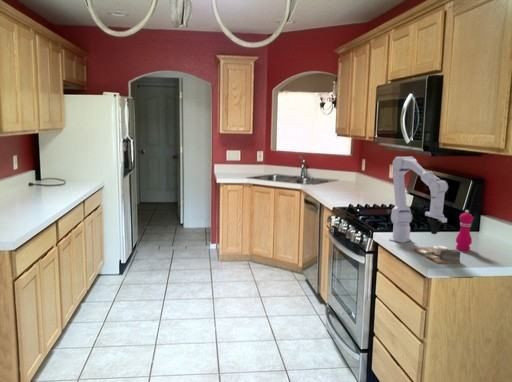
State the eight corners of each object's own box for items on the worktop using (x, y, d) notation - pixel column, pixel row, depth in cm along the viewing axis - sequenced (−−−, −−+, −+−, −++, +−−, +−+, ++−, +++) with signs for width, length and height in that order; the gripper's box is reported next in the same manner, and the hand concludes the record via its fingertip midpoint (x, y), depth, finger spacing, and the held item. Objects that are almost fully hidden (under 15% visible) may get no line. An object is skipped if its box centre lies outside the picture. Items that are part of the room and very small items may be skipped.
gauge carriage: (424, 252, 210) (424, 246, 209) (442, 251, 212) (443, 245, 211) (428, 255, 206) (429, 249, 205) (447, 254, 208) (448, 248, 207)
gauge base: (411, 249, 219) (412, 239, 218) (432, 248, 221) (433, 239, 220) (437, 263, 198) (438, 252, 198) (460, 262, 201) (461, 251, 200)
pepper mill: (465, 252, 217) (470, 212, 213) (451, 248, 223) (456, 209, 219) (473, 250, 221) (478, 210, 218) (459, 246, 227) (464, 207, 223)
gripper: (454, 209, 205) (450, 237, 207) (435, 202, 219) (432, 229, 221) (440, 209, 203) (437, 238, 206) (422, 202, 217) (419, 230, 220)
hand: (433, 233), depth 213 cm, fingers closed
